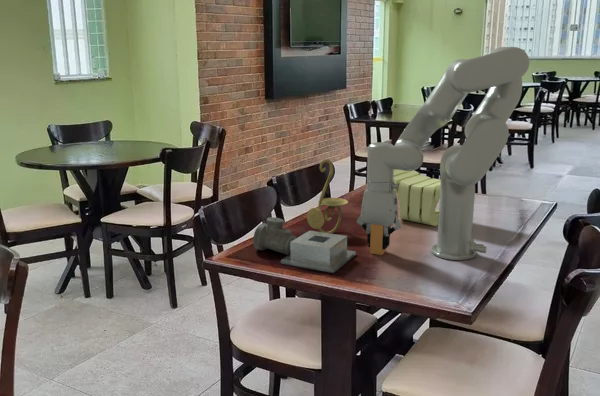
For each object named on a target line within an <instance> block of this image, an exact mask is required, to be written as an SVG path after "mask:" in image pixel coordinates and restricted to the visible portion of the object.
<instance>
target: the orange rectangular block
mask: <svg viewBox="0 0 600 396" xmlns="http://www.w3.org/2000/svg"><path fill="white" fill-rule="evenodd" d="M383 236H384V227H383V226H382V225H375V224H371V239H370V247H369V248H370V250H369V251H370V252H369V253H370V254H372V255H373V254H374V255H379V256H383V255H384V254H385V253H386V252H387V248H386V249H385V250H384V249H382V246H383Z"/></svg>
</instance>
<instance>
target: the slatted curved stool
mask: <svg viewBox="0 0 600 396" xmlns="http://www.w3.org/2000/svg"><path fill="white" fill-rule="evenodd" d="M394 183H396V184H398V188H397V189H396V188H395V189H393V190H394V191H396V194H397V201H398V204H399V209H400V213H399V215H400V219H401V220H405V221H409V222H414V223H419V224H424V225H429V226H434V227H436V226H438V223H439V209H436V207H437V205H438V203H440V188H441V179H439V178H435V177H434V178H431V177H429V176H427V175H425V174H422V173H421V174H420V172H419V171H416V170H413V171H404V170H397V169H394Z"/></svg>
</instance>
